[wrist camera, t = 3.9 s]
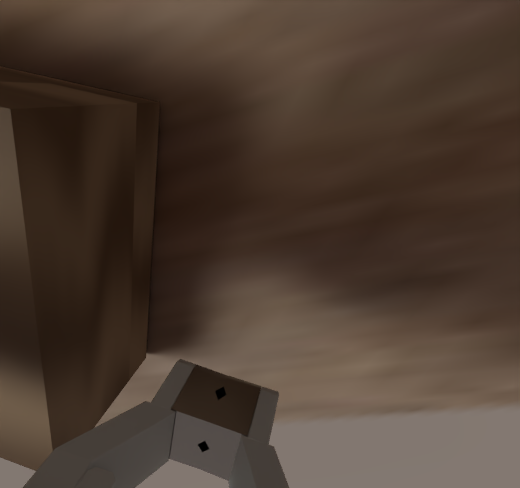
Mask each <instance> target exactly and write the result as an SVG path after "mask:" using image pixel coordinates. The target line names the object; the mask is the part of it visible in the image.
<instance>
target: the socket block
mask: <svg viewBox="0 0 520 488" xmlns="http://www.w3.org/2000/svg"><path fill="white" fill-rule="evenodd" d="M159 112H160V102H157V101H152V100H148V99H143V98H139V97H135V96H130V95H126V94H121V93H117V92H112V91H108V90H104V89H99V88H95V87H90V86H86V85H81V84H77V83H73V82H68V81H64V80H59V79H55V78H50V77H46V76H42V75H37V74H33V73H28V72H24V71H20V70H15V69H11V68H6V67H2V66H0V457H1V458H4V459H6V460H9V461H11V462H14V463H17V464H19V465H22V466H24V467H27V468H30V469H32V470H35V471H37V470H38V469H39V467H40V466H41V465H42V464H43V463H44V461H45V460H46V459H47V458H48V457H49V455H50V454H51V453H52V452H53V451H54V449H55V448H57V447H59V446H61V445H63V444H64V443H66V442H68V441H70V440H72V439H74V438H76V437H78V436H80V435H82V434H84V433H86V432H88V431H89V430H91V429H93V428H94V427H95V425H96V424H97V423H98V421H99V420H100V419H101V417H102V416H103V415H104V413H105V412H106V411H107V409H108V408H109V407H110V405H111V404H112V403H113V401H114V400H115V399H116V397H117V396H118V395H119V393H120V392H121V391H122V389H123V388H124V386H125V385H126V384H127V382H128V381H129V380H130V378H131V377H132V376H133V374H134V373H135V372H136V370H137V369H138V368H139V366H140V365H141V364H142V362H143V361H144V360H145V358H146V348H147V330H148V312H149V294H150V275H151V257H152V239H153V221H154V203H155V185H156V166H157V148H158V130H159Z"/></svg>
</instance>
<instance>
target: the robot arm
mask: <svg viewBox="0 0 520 488" xmlns="http://www.w3.org/2000/svg"><path fill="white" fill-rule="evenodd" d="M260 389H261V390H260ZM278 397H279V392H277V391H274V390H271V389H268V388H265V387H261V386H259V385H256V384H253V383H250V382H247V381H244V380H241V379H237V378H234V377H231V376H227V375H224V374H221V373H219V372H216V371H213V370H210V369H208V368H205V367H202V366H199V365H196V364H193V363H190V362H188V361H185V360H182V359H180V360H179V361H178V362H176V364H175V365H174V367H173V369H172V370H171V372H170V373H169V375H168V376H167V378H166V380H165V381H164V383H163V384H162V386H161V387H160V389H159V391H158V392H157V394H156V395H155V397H154V398H153V400H152V402H151V403H150V402H147V401H145V402H143V403H141V404H139V405H137V406H136V407H134V408H132V409H130V410H128V411H126V412H124V413H122V414H120V415H118V416H116V417H114V418H112V419H111V420H109V421H107V422H105V423H103V424H101V425H99V426H97V427H95V428H93V429H91V430H89V431H88V432H86V433H84V434H82V435H80V436H78V437H76V438H74V439H72V440H70V441H68V442H66V443H64V444H63V445H61V446H59V447H57V448H55V449H54V451H53V452H52V453H51V454H50V455H49V457H48V458H47V459H46V460H45V461H44V463H43V464H42V465H41V466H40V467H39V469H38V470H37V471H36V472H35V473H34V475H33V476H32V477H31V478H30V479H29V481H28V482H27V483H26V484H25V485H24V487H23V488H135V487H136V486H137V485H139V484H140V483H141V482H142V481H144V480H145V479H146V478H147V477H148V476H150V475H151V474H152V473H154V472H155V471H156V470H157V469H159V468H160V467H161V466H162V465H164V464H165V463H166V462H167V461H168V459H172V460H175V461H178V462H181V463H183V464H187V465H189V466H192V467H196V468H198V469H201V470H203V471H206V472H208V473H211V474H213V475H216V476H218V477H221V478H223V479H225V480H228V481H229V488H289V486H288V483H287V481H286V478H285V475H284V473H283V470H282V467H281V465H280V462H279V459H278V457H277V454H276V451H275V449H274V447H273V446H271V445H269V439H270V435H271V430H272V426H273V421H274V416H275V411H276V407H277V402H278ZM257 400H258V401H257Z"/></svg>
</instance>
